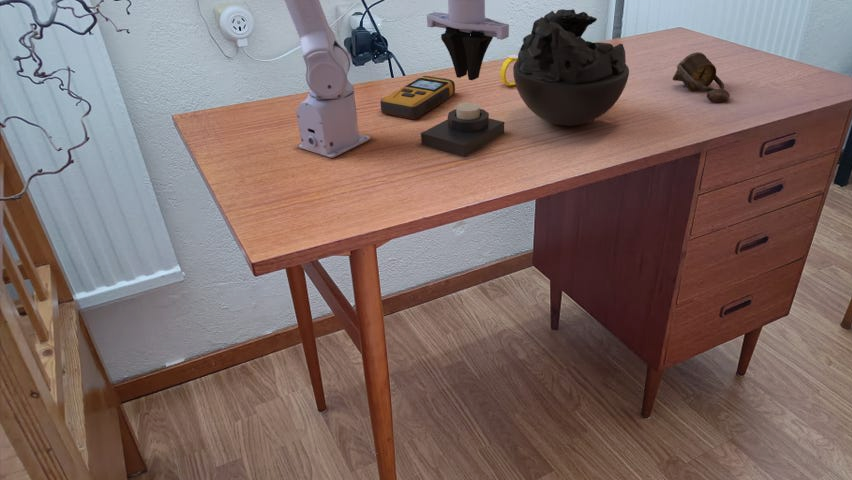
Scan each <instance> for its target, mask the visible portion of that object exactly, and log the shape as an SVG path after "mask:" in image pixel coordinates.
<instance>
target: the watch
mask: <svg viewBox="0 0 852 480" xmlns="http://www.w3.org/2000/svg"><path fill="white" fill-rule="evenodd" d="M517 60H518V54H508V55H507V58H506V59H505V60H504V62H503V64H502V65H501V67H500V73H499V75H500V81H501V83H503V85H505V86H506V87H513V86H516V84H515V81H513V82H508V80H507V77H506V75H507V69H508V68H509V65H510V64H511V63H512V62H516V61H517Z"/></svg>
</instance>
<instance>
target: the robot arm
mask: <svg viewBox="0 0 852 480" xmlns="http://www.w3.org/2000/svg"><path fill="white" fill-rule="evenodd" d="M283 1H284V3H285V6H286V8H287V10H288V13H289V15H290V18H291V20H292V23H293V25H294V28H295V31H296V32H297V35H298V37H299V42H300V48H301V49H300V50H301V54H302V58H303V61H304V64H305V69H306V70H305V81H306V85H307V86H308V95H307V97H306V98H305V100H304V101H302V102H300V103H299V104H298V106H297V109H296V119H297V125H298V130H299V137H300V142H301V143H300V144H298V148H299V149H302V150H305V151H309V152H311V153H314V154H318V155H321V156H324V157H326V158H330V159H333V158H335V157H338V156H340V155H342V154H344V153H346V152H348V151H350V150H352V149H354V148H356V147H358V146H360V145H362V144H364V143H366V142H369V141H370V140H371V136H369V135H367V134H362V133H360V132H359V131H360V130H359V123H358V114H357V105H356V97H355V96H356V95H355V87H354V85H353V84H352V83H351V82H350V81H349V79H348V74H349V71H350V68H351V58H350V56H349V53H348V52H347V50H346V49H345V48H344V47H343V46H342V45H341V44H340V43H339V41H338V39H337V37H336V34H335V32H334V31H333V29H332V27H330V25H329V23H328V19H327V17H326V15H325V12H324V10H323V6H322V4H321V1H320V0H283ZM447 10H448V13H447V12H435V11H434V12H431V13H428V14H426V27H427V28H440V29H445V31H444V33H442V34H440V39H441V41H442V43H443V44H444V46H445V47H446V49H447V51H448V54H449V56H450V59H451V61H452V66H453V68H454V72H455V76H456V78H458V79H461V78H462V77H466V76H467V79H468V81H474V80H476V79H479V78H480V73H481V68H482V65H483V61H484V58H485V55H486V54H487V53H486V52H487V50H488V48H489V46H490V45H491V42H492V40H493V39H494V38H496V40H501V41H503V40H504V39H507V38H509V36H510V24H509V23H505V22H500V21H497V20H495V19H491V18H488V17H486V0H447Z"/></svg>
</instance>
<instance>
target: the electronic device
mask: <svg viewBox="0 0 852 480" xmlns="http://www.w3.org/2000/svg"><path fill="white" fill-rule="evenodd" d="M455 92H456V84H455V82H454V80H452V79H448V78H443V77H436V76H430V75H422V76H420V77H419V78H417V79H415V80H413V81H412V82H410V83H408V84H406V85H405V86H403V87H401V88H399V89H397V90H395V91H394V92H392V93H390V94H388V95H386V96H385V97H383V98H382V99H380V102H379V103H380V104H379V105H380V111H381V114H384V115H390V116H394V117H400V118H404V119H409V120H410V119H411V120H416V119H418V118H420V117H421V116H423V115H424V114H426V113H427V112H429V111H431V110H432V109H434V108H436V107H438V105H440V104H441V103H444V102H445V101H447V100H448V99H449V98H451V97H452V96H454V95H455V94H456V93H455Z"/></svg>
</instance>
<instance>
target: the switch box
mask: <svg viewBox="0 0 852 480" xmlns="http://www.w3.org/2000/svg"><path fill="white" fill-rule="evenodd" d="M504 134H505V121H502V120H498V119H494V118H490V114H489V112H488V111H486V110H485V109H482V108H480V117H479V118H477V119H472V120H463V119H459V118H457V114H456V108H455V109H452V110H451V111H449V112H448V114H447V119H446V120H444V121H442V122H439V123H438V124H435V125H434V126H432V127H430V128H428V129H426V130H424V131H422V132H420V142H421V143H420V144H421V146H422V147H427V148H431V149H434V150H438V151H441V152H444V153H448V154H451V155H454V156H458V157H462V158H466V157H468V156H470V155H471V154H473V153H474V152H476V151H478V150H479V149H481V148H483V147H485V146H486V145H488V144H489V143H491V142H493V141H494V140H496V139H498V138H499V137H502V136H503V135H504Z"/></svg>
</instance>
